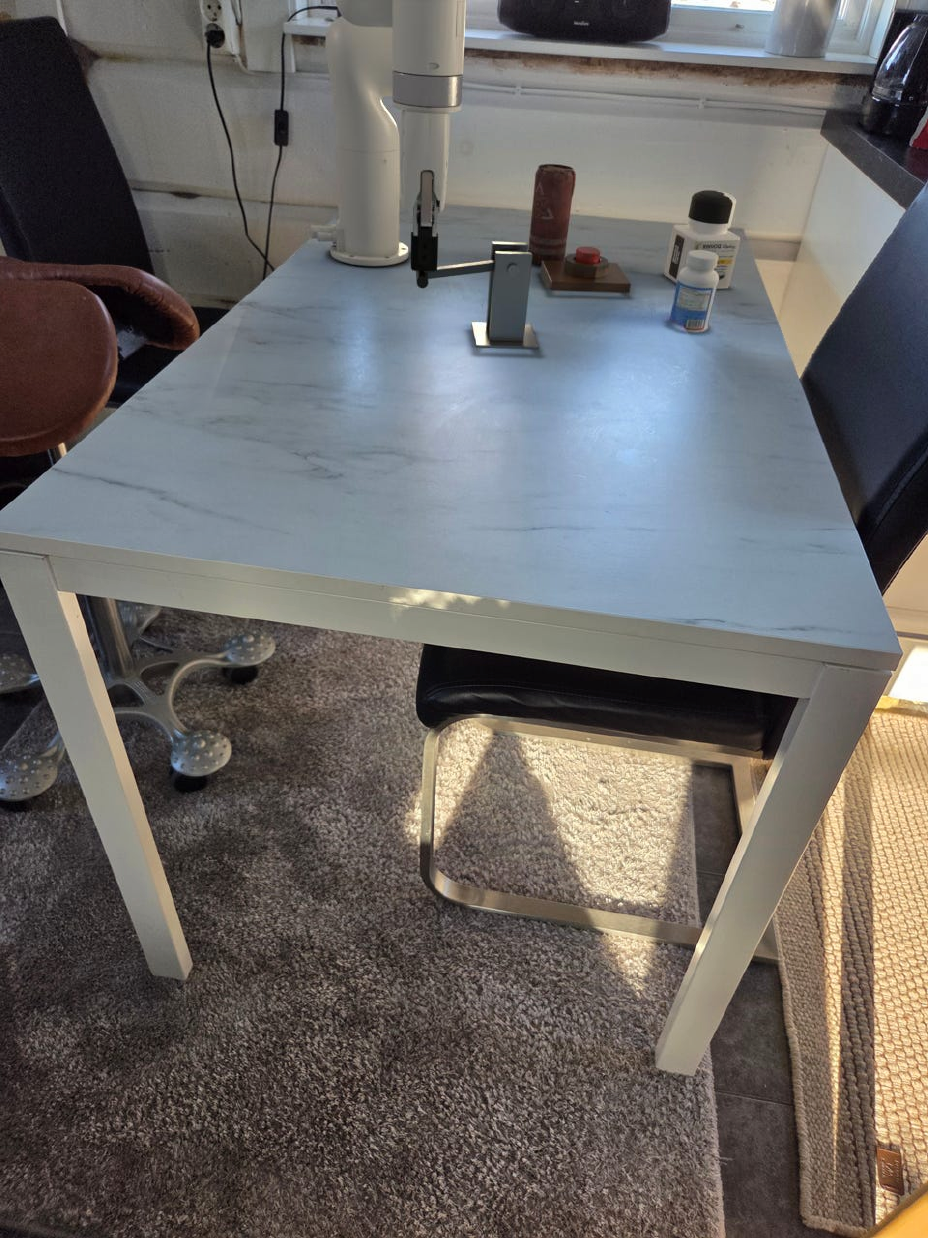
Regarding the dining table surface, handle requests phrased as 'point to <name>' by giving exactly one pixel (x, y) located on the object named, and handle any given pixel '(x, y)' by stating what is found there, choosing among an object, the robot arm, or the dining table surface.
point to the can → (551, 212)
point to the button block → (584, 276)
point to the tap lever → (455, 271)
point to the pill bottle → (695, 291)
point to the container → (705, 235)
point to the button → (587, 255)
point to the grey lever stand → (507, 300)
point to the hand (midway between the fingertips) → (423, 268)
